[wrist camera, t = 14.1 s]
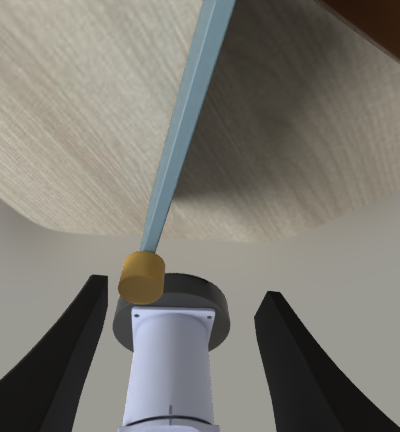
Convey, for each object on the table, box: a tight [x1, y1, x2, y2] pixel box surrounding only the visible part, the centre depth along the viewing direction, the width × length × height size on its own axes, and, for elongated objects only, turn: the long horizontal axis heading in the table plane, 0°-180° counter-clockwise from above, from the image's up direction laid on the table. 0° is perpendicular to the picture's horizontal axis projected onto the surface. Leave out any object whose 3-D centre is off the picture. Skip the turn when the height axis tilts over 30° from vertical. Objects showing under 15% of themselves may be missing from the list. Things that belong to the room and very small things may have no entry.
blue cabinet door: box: [118, 0, 236, 304], centre depth 13 cm, size 2×14×10 cm, turn 161°
